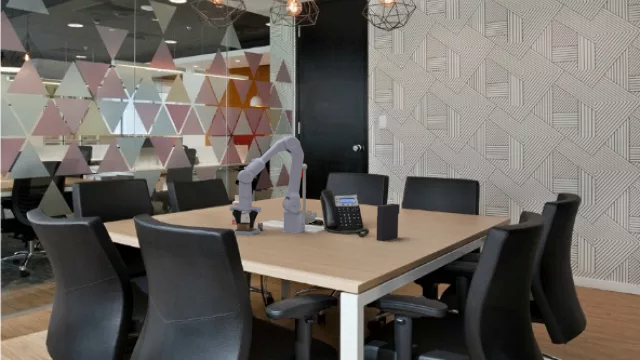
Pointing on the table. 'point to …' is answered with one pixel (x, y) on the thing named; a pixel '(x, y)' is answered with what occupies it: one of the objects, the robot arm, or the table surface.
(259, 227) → the metal knob
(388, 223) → the upright black prism
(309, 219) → the flag stand
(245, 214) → the ink cartridge box
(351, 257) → the table surface
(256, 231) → the tray
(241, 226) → the brown wooden frame
